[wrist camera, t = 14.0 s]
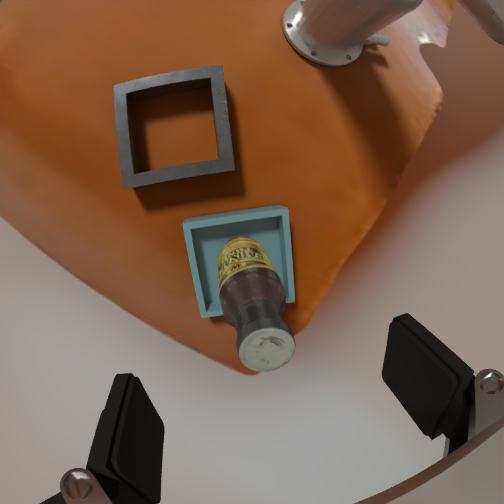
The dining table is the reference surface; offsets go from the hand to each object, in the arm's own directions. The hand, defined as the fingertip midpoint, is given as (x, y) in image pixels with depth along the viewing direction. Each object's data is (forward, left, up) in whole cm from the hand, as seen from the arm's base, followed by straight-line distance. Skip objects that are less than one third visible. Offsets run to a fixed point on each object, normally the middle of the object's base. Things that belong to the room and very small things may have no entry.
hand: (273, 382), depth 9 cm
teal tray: (-1, +5, -29) cm, 29 cm away
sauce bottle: (-1, +5, -28) cm, 28 cm away
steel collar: (+4, -13, -29) cm, 32 cm away
